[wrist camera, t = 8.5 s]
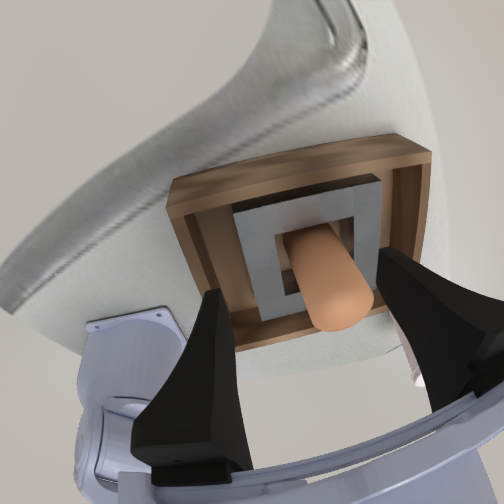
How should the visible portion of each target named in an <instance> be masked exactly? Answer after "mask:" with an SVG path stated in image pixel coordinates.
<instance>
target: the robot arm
mask: <svg viewBox="0 0 504 504" xmlns="http://www.w3.org/2000/svg"><path fill="white" fill-rule="evenodd" d="M375 283H376V285H377V287H378V289H379V292H380V294H381V296H382V298H383V300H384V302H385V303H386V305H387V307H388V308H389V310H390V312H391V313H392V315H393V316H394V318H395V320H396V321H397V323H398V325H399V326H400V328H401V330H402V331H403V333H404V335H405V336H406V338H407V340H408V342H409V344H410V346H411V349H412V351H413V353H414V356H415V358H416V360H417V363H418V366H419V368H420V371H421V374H422V377H423V380H424V383H425V386H426V390H427V393H428V397H429V400H430V405H431V409H432V414H430V415H428V416H426V417H424V418H421V419H419V420H417V421H415V422H413V423H411V424H408V425H406V426H404V427H401V428H399V429H397V430H394V431H392V432H390V433H387V434H385V435H382V436H379V437H376V438H374V439H371V440H368V441H365V442H363V443H360V444H357V445H354V446H351V447H348V448H344V449H341V450H338V451H335V452H331V453H328V454H324V455H321V456H317V457H313V458H309V459H305V460H301V461H297V462H292V463H288V464H283V465H278V466H273V467H268V468H262V469H256V470H254V469H253V465H252V460H251V456H250V452H249V447H248V443H247V438H246V433H245V429H244V424H243V418H242V413H241V408H240V402H239V396H238V389H237V377H236V359H235V342H234V335H233V329H232V323H231V318H230V315H229V313H228V310H227V307H226V304H225V301H224V299H223V296H222V293H221V290H220V288H216V289H212V290H207V291H205V293H204V296H203V300H202V303H201V307H200V310H199V313H198V316H197V319H196V321H195V324H194V327H193V330H192V332H191V334H190V337H189V339H188V341H186V339H185V337H184V335H183V334H182V332H181V330H180V329H179V327H178V325H177V323H176V321H175V320H174V318H173V316H172V314H171V312H170V311H169V309H167V308H158V309H154V310H149V311H144V312H140V313H135V314H130V315H125V316H120V317H115V318H110V319H105V320H100V321H95V322H90V323H86V325H85V329H86V330H87V331H88V333H89V334H88V338H87V341H86V345H85V349H84V352H83V356H82V360H81V364H80V368H79V372H78V377H77V390H78V396H79V399H80V402H81V404H82V406H83V408H84V409H85V410H84V411H83V414H82V417H81V420H80V423H79V427H78V432H77V438H76V444H75V466H74V480H75V483H76V485H77V488H78V490H79V492H80V493H81V494H82V495H83V496H84V497H85V498H86V499H87V500H88V501H89V502H90V503H91V504H498V503H497V500H496V497H495V494H494V491H493V488H492V486H491V483H490V480H489V478H488V475H487V473H486V470H485V468H484V466H483V463H482V461H481V458H480V456H479V453H478V451H477V449H478V448H479V447H481V446H482V445H484V444H485V443H486V442H488V441H489V440H491V439H492V438H494V437H495V436H496V435H498V434H499V433H500V432H502V431H503V430H504V301H501V300H497V299H494V298H490V297H487V296H484V295H481V294H478V293H476V292H473V291H471V290H468V289H466V288H463V287H461V286H459V285H457V284H455V283H453V282H451V281H449V280H447V279H445V278H443V277H441V276H439V275H438V274H436V273H434V272H432V271H431V270H429V269H427V268H426V267H424V266H422V265H421V264H419V263H418V262H416V261H414V260H413V259H411V258H410V257H408V256H406V255H405V254H403V253H402V252H400V251H398V250H397V249H395V248H393V247H391V246H388V247H384V248H380V249H379V252H378V263H377V273H376V282H375ZM158 313H160V314H158ZM437 429H438V430H437ZM435 430H436V432H435V433H433V434H431V435H429V436H428V437H425V438H423V439H421V440H419V441H417V442H415V443H413V444H410V445H408V446H406V447H404V448H401V449H399V450H397V451H394V452H392V453H389V454H387V455H385V456H382V457H380V458H378V459H375V460H373V461H371V462H369V463H367V464H365V465H362V466H359V467H357V468H354V469H351V470H349V471H346V472H343V473H340V474H338V475H335V476H331V477H328V478H325V479H322V480H319V481H316V482H312V483H309V484H307V481H306V480H300V479H305V478H308V477H312V476H317V475H320V474H324V473H328V472H331V471H335V470H338V469H342V468H345V467H348V466H351V465H354V464H357V463H360V462H363V461H366V460H369V459H371V458H374V457H376V456H379V455H382V454H384V453H387V452H389V451H392V450H394V449H397V448H399V447H401V446H404V445H406V444H408V443H410V442H412V441H415V440H417V439H419V438H421V437H423V436H425V435H427V434H429V433H431V432H433V431H435ZM100 478H101V479H100ZM102 479H105V480H102ZM106 480H109V481H106ZM296 480H297V481H296ZM110 481H113V482H110ZM114 482H118V483H114Z"/></svg>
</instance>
